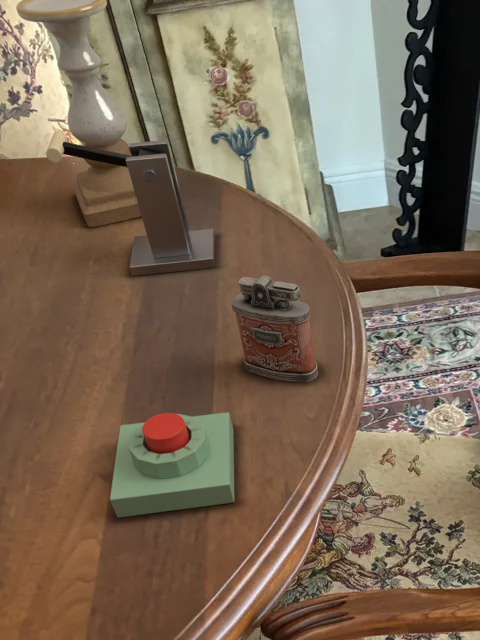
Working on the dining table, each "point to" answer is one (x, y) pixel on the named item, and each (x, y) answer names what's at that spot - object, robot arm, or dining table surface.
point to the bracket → (164, 217)
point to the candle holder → (89, 109)
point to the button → (165, 433)
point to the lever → (85, 151)
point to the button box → (175, 469)
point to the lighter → (275, 330)
